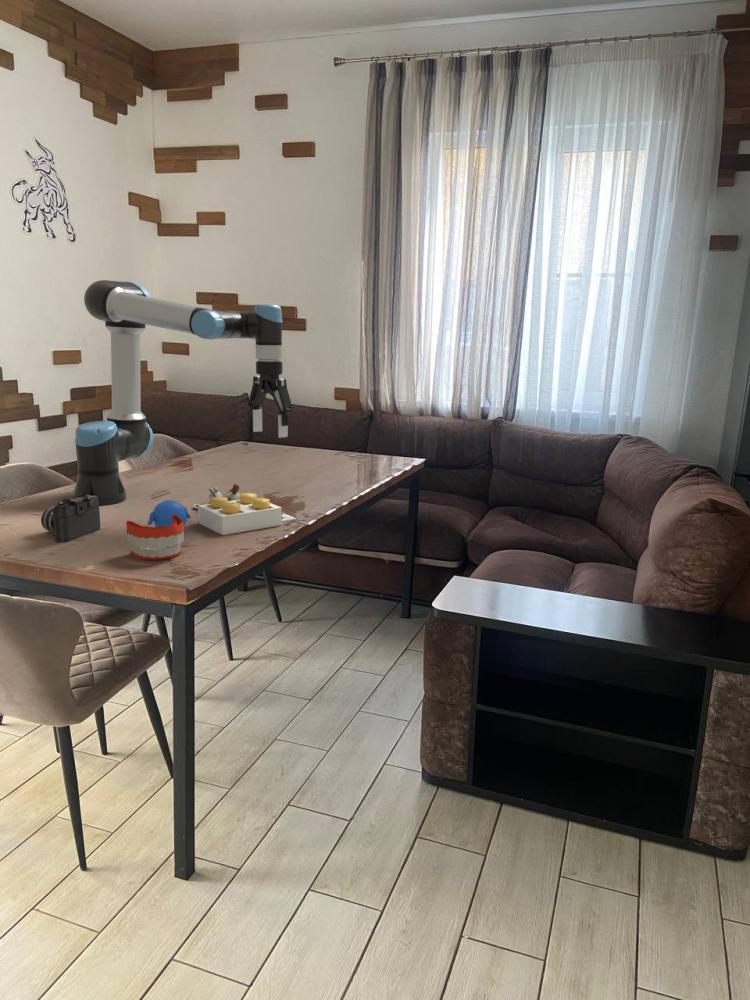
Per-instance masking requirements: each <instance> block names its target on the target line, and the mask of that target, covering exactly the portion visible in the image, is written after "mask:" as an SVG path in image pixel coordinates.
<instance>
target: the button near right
mask: <svg viewBox="0 0 750 1000" xmlns="http://www.w3.org/2000/svg"><path fill="white" fill-rule="evenodd" d="M270 503H271V502H270V499H269V498H266V497H257V498H255V499H252V508H253V509H255V510H264V509H270Z"/></svg>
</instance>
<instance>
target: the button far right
mask: <svg viewBox="0 0 750 1000" xmlns="http://www.w3.org/2000/svg"><path fill="white" fill-rule="evenodd" d="M255 498H258V497H257V494H256V493H253V492H246V493H245V492H244V493H240V495H239V503H240V504H243V505H249V504H252V499H255Z"/></svg>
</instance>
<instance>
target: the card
mask: <svg viewBox="0 0 750 1000" xmlns="http://www.w3.org/2000/svg"><path fill="white" fill-rule="evenodd" d="M296 520H297V517H294V516H292V515H289V514H287V513H284V512H282V523H285V522H293V521H296Z"/></svg>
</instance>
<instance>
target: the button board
mask: <svg viewBox="0 0 750 1000" xmlns="http://www.w3.org/2000/svg"><path fill="white" fill-rule="evenodd" d="M228 502H237V503H239V500H234V501H228ZM197 510H198V515H197V516H198V524H199V525H201V526H203V527H206V528H207V529H210V530H212V531H213V532H215V533H218V534H219V535H222V536H226V535H232V534H237V533H245V532H250V531H255V530H261V529H266V528H273V527H279V526H282V524H283V522H282V513H283V511H282V506H279V505H276V504H274V503H272V502H270V509H264V510H255V509H253V508H252V504H249V505H243V504H241V513H238V514H231V515H226V514H224V513H222V508H221V509H213V508H210V504H206V505H204V504H199V505H198V509H197Z"/></svg>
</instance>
